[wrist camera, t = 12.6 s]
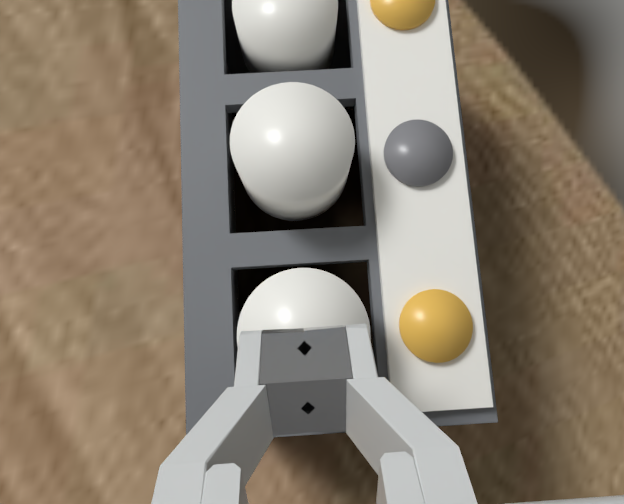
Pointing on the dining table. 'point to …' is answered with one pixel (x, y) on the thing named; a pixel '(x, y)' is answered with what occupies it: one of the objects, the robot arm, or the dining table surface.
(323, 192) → the middle button
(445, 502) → the robot arm
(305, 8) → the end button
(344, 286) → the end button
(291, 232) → the button console
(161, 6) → the dining table surface
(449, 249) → the pattern card
